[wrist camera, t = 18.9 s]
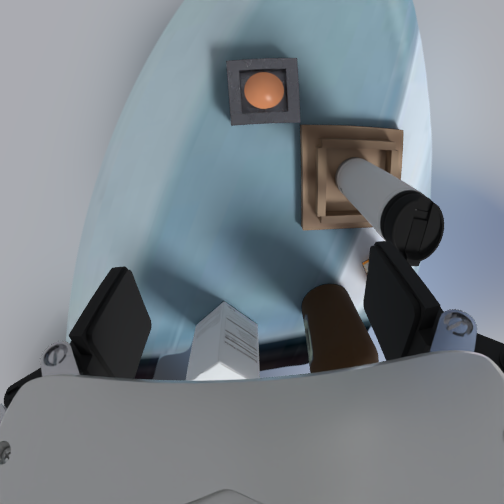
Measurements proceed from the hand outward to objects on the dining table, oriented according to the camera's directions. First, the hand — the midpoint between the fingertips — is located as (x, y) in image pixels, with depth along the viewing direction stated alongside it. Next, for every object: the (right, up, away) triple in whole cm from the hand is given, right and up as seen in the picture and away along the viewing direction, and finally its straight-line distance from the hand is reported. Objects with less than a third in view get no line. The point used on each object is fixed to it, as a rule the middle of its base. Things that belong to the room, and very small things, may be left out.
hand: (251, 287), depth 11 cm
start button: (+2, +23, +24) cm, 33 cm away
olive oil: (+14, -8, +42) cm, 45 cm away
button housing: (+2, +24, +25) cm, 34 cm away
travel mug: (+15, +12, +30) cm, 35 cm away
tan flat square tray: (+15, +13, +31) cm, 37 cm away
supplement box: (-5, -13, +45) cm, 47 cm away
